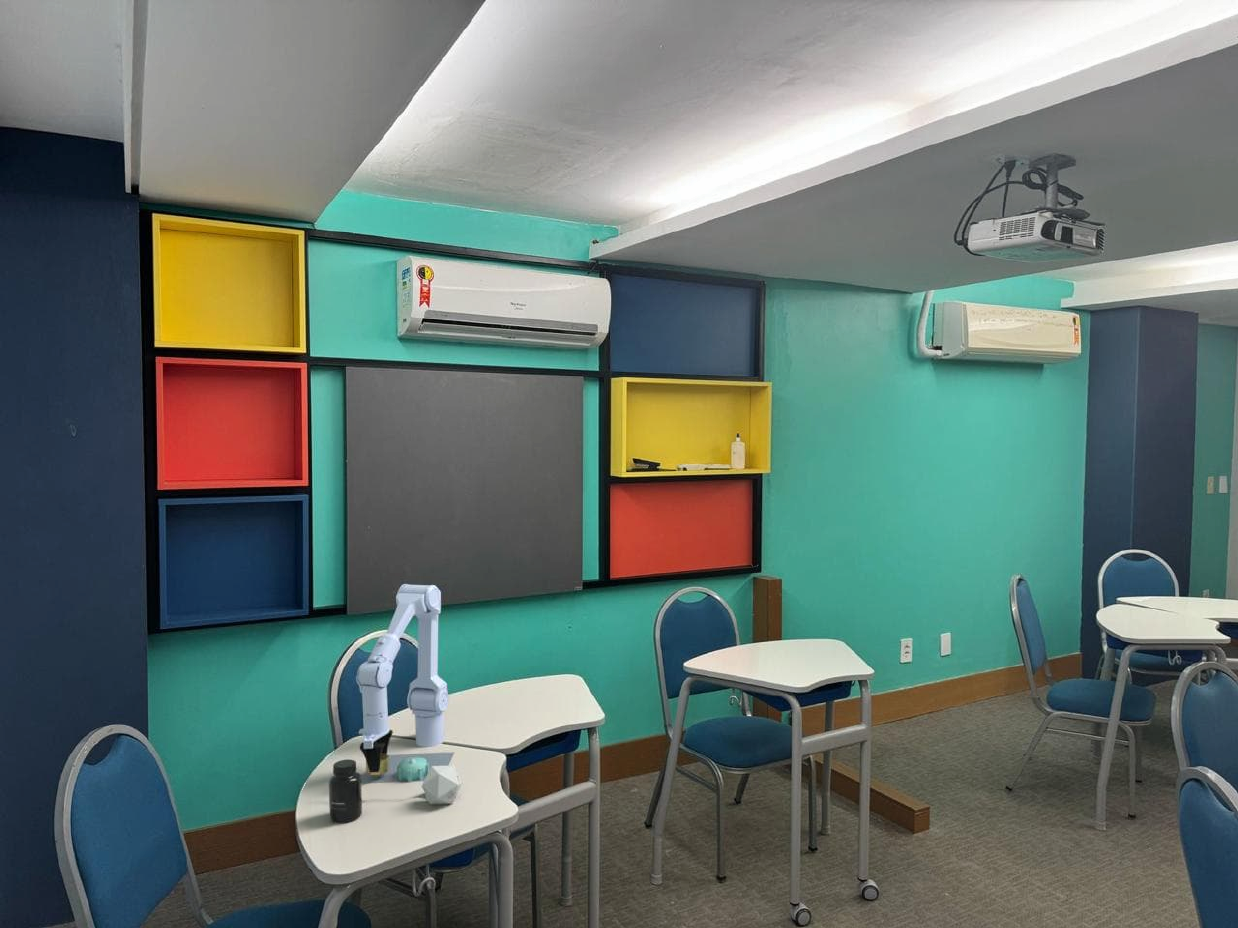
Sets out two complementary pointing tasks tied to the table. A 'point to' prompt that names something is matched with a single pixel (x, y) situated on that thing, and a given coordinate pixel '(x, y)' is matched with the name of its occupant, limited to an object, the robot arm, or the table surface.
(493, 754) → the table surface
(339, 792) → the supplement bottle
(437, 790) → the die
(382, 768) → the yellow faceted ring
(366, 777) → the gear board
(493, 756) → the table surface
